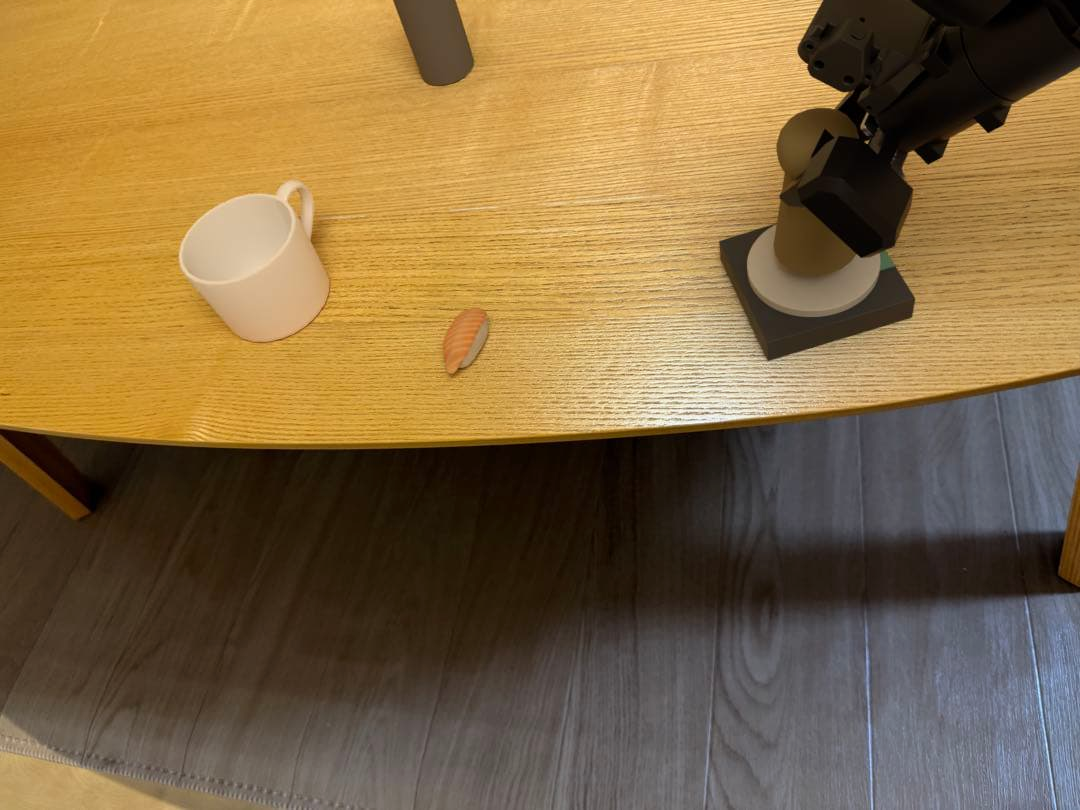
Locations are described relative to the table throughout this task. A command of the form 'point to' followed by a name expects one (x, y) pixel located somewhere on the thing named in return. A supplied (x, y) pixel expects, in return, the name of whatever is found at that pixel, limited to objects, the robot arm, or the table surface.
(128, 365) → the table surface
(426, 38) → the bottle
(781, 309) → the scale
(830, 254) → the brown chess pawn
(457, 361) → the sushi
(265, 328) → the mug
